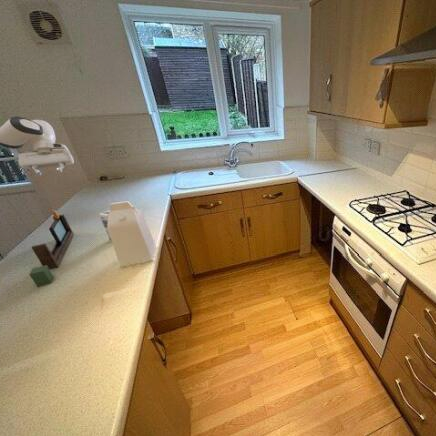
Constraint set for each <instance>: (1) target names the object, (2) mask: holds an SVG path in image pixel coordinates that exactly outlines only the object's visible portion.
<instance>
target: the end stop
mask: <svg viewBox="0 0 436 436" xmlns="http://www.w3.org/2000/svg"><path fill="white" fill-rule="evenodd" d="M28 275H29V277H30V278H31V279H32V281H33V282H34V284H35V285H36V287H41V286H45V285H49V284H52V283H53V280H54V278H55V276H54V274H53V273H52V271H51V270H50V269H49V268H48V266H47V265H44V266H43V265H41V266H37V267H33V268H32V269H31V270H30V272H29V274H28Z"/></svg>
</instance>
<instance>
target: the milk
mask: <svg viewBox="0 0 436 436" xmlns="http://www.w3.org/2000/svg"><path fill="white" fill-rule="evenodd" d="M109 210H110V212H109V217H108V223H107V228H108V232H109V235H110V238H111V241H110V242H111V243H112V246H113V249H114V252H115V255H116V258H117V262H118V264H119V267H120V268H122V267H128V266H132V265H133V266H134V265H138V264H139V265H140V263H139V262H142V263H147V262H153V261H154V260H153V259H154V256H155V252H156V250H157V245H156V243H155V240H154V238H153V236H152V233H151V230H150V227H149V225H148V223H147V220H146V218H145V215H144V213H143V212H142V211H141V210H140V209H138V208H137V207H135V206H134V205H133V204H132V203H131V202H130V201H129V200H125V201H117V202H116V201H115V202H111V203H110V204H109ZM145 261H147V262H145ZM135 263H137V264H135ZM142 263H141V264H142ZM130 264H132V265H130Z"/></svg>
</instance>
